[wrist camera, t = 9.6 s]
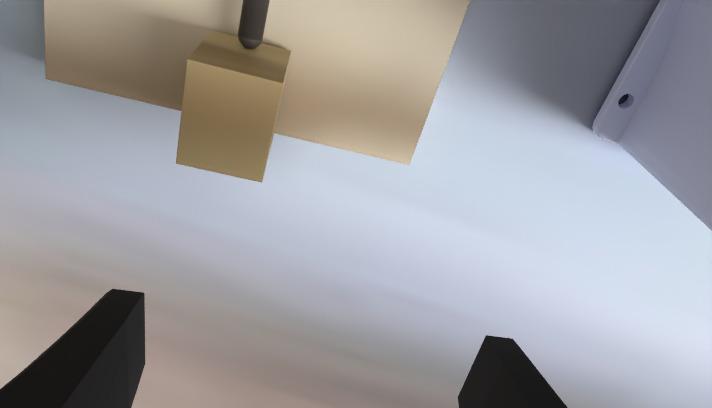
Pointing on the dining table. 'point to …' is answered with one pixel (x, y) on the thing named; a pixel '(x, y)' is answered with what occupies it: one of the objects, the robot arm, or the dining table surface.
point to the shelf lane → (284, 30)
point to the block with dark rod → (233, 98)
